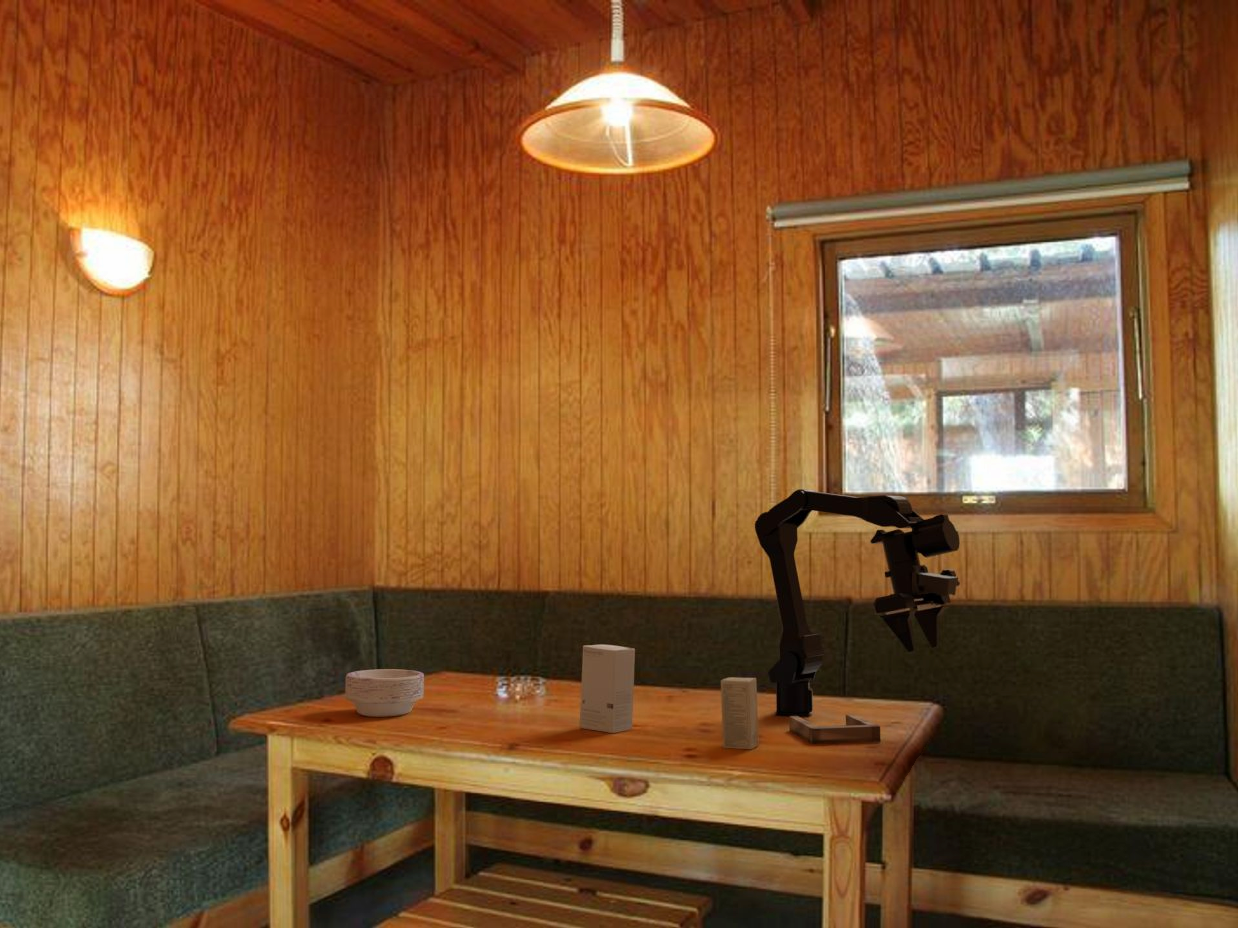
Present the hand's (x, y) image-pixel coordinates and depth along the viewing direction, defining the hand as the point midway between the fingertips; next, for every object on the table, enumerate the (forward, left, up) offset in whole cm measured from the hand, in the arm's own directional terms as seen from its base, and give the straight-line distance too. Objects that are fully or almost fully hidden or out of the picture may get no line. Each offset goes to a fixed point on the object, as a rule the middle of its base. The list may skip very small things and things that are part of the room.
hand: (923, 649), depth 186 cm
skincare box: (-56, -8, -15) cm, 58 cm away
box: (-31, -19, -15) cm, 39 cm away
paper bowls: (-103, 0, -15) cm, 104 cm away
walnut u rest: (-16, -7, -14) cm, 23 cm away
